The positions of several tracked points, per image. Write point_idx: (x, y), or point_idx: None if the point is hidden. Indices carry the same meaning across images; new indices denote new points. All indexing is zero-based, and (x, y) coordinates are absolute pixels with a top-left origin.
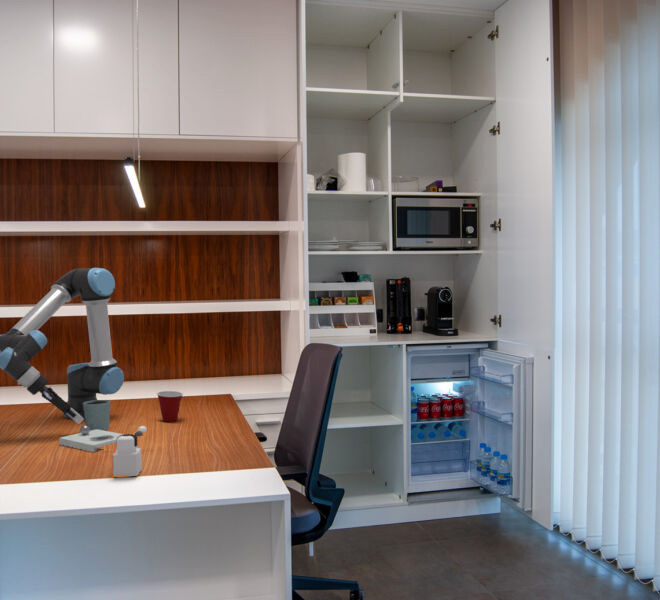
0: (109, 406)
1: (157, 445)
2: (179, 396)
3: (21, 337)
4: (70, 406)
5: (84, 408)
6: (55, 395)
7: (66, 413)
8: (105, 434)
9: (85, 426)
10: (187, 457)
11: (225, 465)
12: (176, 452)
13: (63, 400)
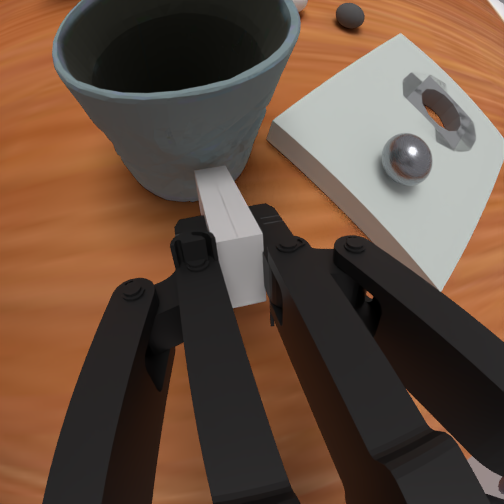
0: None
1: (409, 15)
2: None
3: None
4: (215, 247)
5: (233, 110)
6: (455, 463)
7: (263, 294)
8: (388, 91)
9: (428, 147)
10: (471, 16)
11: (485, 6)
12: (450, 13)
13: (116, 365)
